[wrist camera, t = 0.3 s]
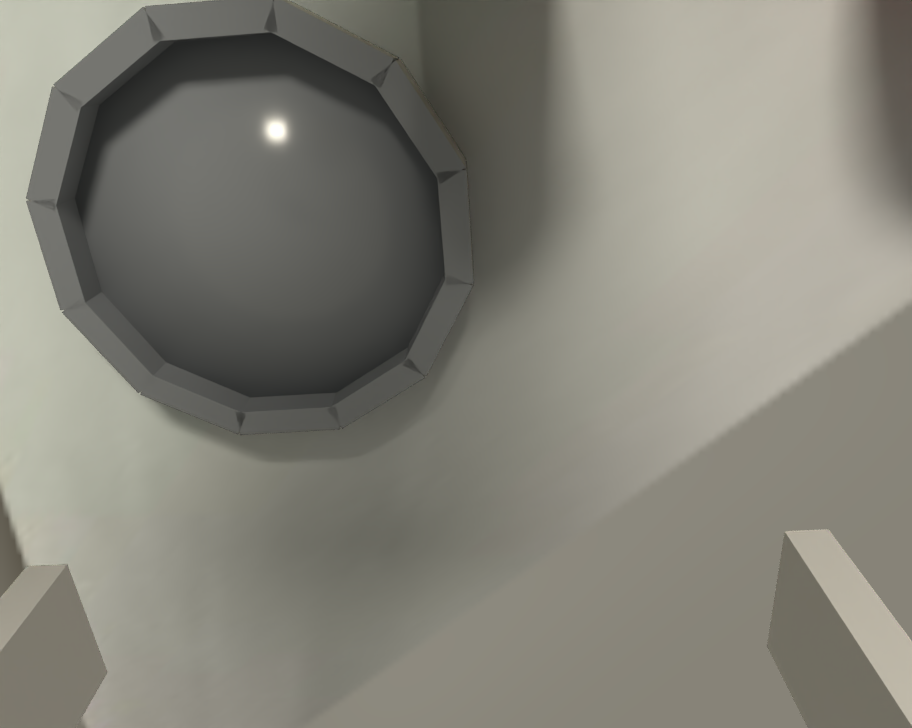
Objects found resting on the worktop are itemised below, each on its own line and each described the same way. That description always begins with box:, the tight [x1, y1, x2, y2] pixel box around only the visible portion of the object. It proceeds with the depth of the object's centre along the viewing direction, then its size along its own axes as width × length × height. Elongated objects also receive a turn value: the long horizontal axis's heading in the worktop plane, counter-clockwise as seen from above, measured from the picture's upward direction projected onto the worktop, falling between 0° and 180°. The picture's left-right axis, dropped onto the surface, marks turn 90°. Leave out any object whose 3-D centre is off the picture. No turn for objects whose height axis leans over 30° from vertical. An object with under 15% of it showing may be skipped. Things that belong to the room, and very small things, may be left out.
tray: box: [26, 0, 474, 435], centre depth 36 cm, size 21×21×3 cm
